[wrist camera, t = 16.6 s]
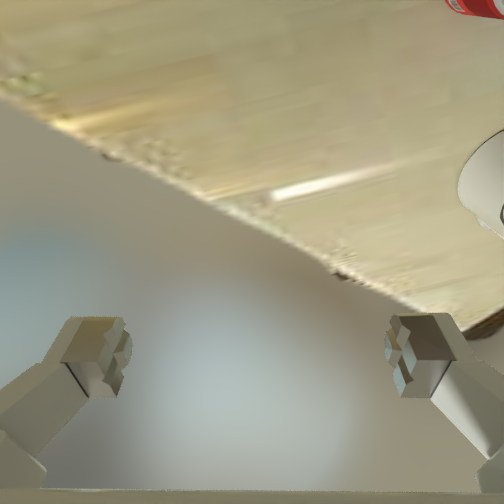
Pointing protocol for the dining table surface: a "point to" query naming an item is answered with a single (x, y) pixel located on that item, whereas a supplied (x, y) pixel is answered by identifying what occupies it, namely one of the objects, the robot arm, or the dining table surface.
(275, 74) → the dining table surface
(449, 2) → the canned food
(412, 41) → the dining table surface
